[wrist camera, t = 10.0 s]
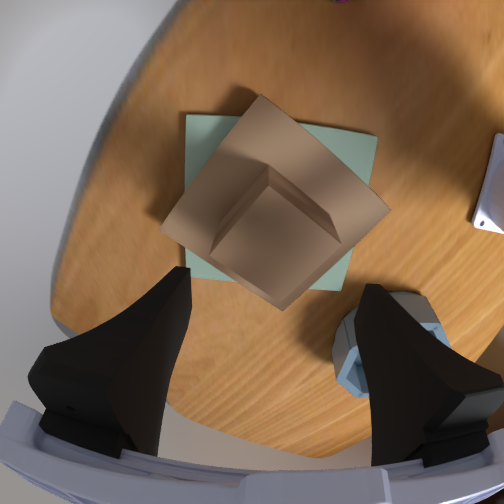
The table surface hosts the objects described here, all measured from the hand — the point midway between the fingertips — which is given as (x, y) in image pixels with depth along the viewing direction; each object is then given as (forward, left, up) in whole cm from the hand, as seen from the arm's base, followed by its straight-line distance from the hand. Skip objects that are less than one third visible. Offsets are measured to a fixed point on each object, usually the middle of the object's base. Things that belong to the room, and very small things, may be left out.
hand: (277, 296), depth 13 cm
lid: (0, 0, -9) cm, 9 cm away
